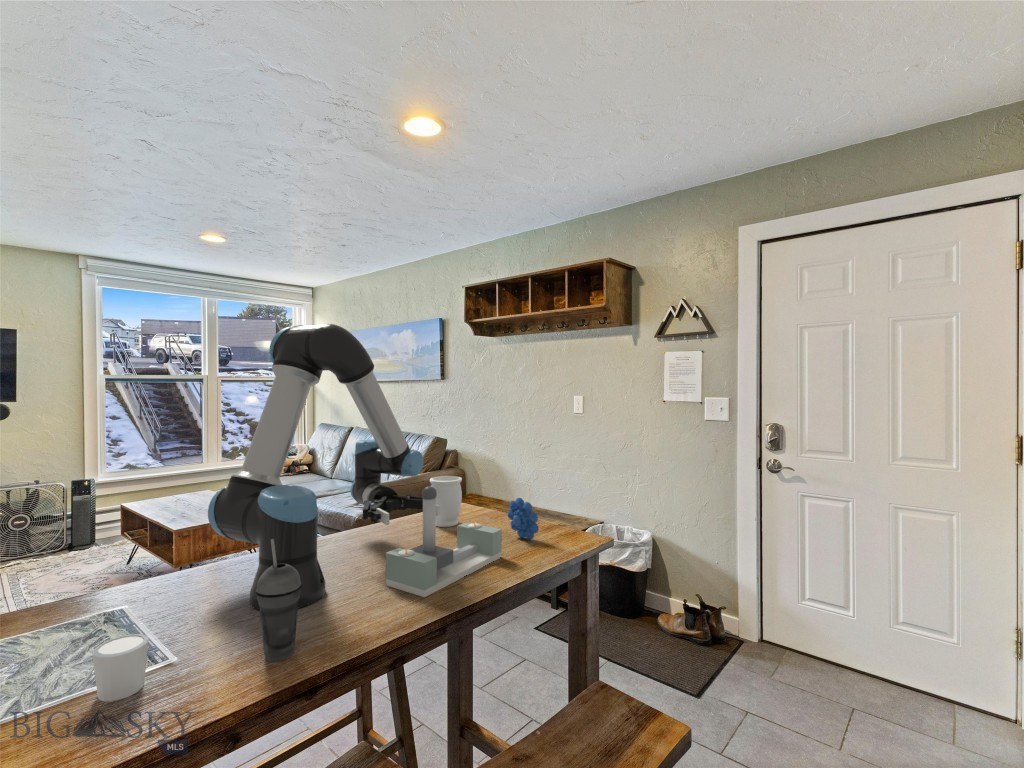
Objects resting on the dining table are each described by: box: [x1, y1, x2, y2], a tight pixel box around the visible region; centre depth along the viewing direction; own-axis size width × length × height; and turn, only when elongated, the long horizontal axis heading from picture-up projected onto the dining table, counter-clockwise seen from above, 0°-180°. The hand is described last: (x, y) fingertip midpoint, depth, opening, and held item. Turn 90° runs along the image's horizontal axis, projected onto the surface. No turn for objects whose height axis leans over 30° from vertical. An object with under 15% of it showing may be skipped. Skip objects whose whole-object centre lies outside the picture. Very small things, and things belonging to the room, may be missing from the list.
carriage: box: [409, 485, 453, 570], centre depth 121 cm, size 7×9×18 cm
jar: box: [429, 475, 463, 528], centre depth 168 cm, size 11×10×15 cm
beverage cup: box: [256, 539, 302, 663], centre depth 88 cm, size 7×7×20 cm
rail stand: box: [385, 522, 503, 598], centre depth 127 cm, size 30×12×8 cm, turn 147°
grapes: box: [506, 497, 539, 540], centre depth 152 cm, size 12×7×12 cm, turn 49°
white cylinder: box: [92, 633, 150, 702], centre depth 78 cm, size 7×7×7 cm
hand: (413, 514), depth 128 cm, fingers open, 13 cm apart
